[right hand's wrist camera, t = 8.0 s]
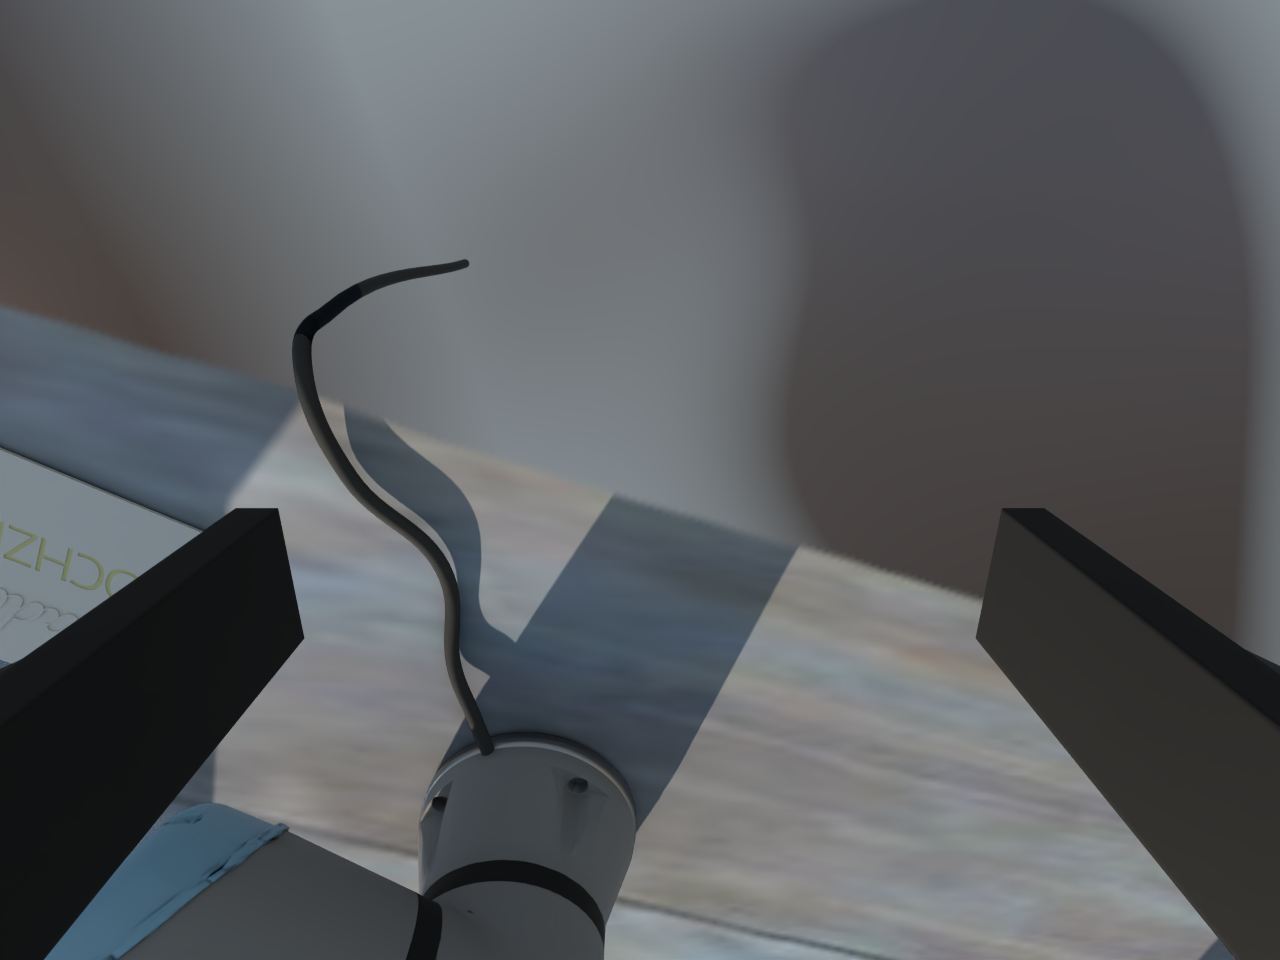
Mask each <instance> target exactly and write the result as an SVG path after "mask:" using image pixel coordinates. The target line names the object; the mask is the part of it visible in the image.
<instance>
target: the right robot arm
mask: <svg viewBox="0 0 1280 960" xmlns="http://www.w3.org/2000/svg"><path fill="white" fill-rule="evenodd" d="M468 266H469V261H468V260H466V259H463V260H459V261H456V262H451V263H445V264H438V265H431V266H422V267H415V268H408V269H403V270H397V271H393V272H388V273H384V274H380V275H377V276H374V277H371V278H368V279H366V280H364V281H361V282H359V283H357V284H354V285H352V286H351V287H349V288H347V289H346V290H344V291H342V292H341V293H339V294H337V295H336V296H335V297H333V298H332V299H331V300H330V301H328V302H327V303H326V304H324V305H323V306H322V307H320V308H319V309H318V310H316V311H314V312H313V313H311V314H310V315H308V316H307V317H306V318H305V319H304V320H303V321H302V322H301V323H300V325H299V326H298V328H297V330H296V332H295V334H294V338H293V346H292V358H293V368H294V376H295V382H296V387H297V391H298V395H299V399H300V402H301V405H302V408H303V411H304V414H305V417H306V419H307V422H308V424H309V426H310V428H311V430H312V433H313V435H314V437H315V439H316V440H317V442H318V444H319V446H320V448H321V449H322V451H323V453H324V455H325V456H326V458H327V459H328V461H329V463H330V464H331V466H332V467H333V469H334V470H335V472H336V473H337V475H338V476H339V478H340V479H341V481H342V482H343V483H344V485H345V486H346V487H347V489H348V490H349V491H350V493H351V494H352V495H353V496H354V497H355V498H356V499H357V500H358V501H359V502H360V503H361V504H362V505H363V506H364V507H365V508H366V509H368V510H369V511H370V512H371V513H373V514H374V515H375V516H376V517H378V518H379V519H380V520H382V521H383V522H384V523H386V524H387V525H389V526H390V527H391V528H393V529H394V530H395V531H397V532H398V533H400V534H401V535H402V536H404V537H405V538H406V539H407V540H409V541H410V542H411V543H412V544H413V545H414V546H416V547H417V548H418V549H419V550H420V551H421V552H422V553H423V554H424V556H425V557H426V558H427V559H428V561H429V562H430V563H431V565H432V567H433V568H434V570H435V572H436V574H437V576H438V578H439V580H440V583H441V586H442V589H443V594H444V599H445V629H444V649H445V659H446V666H447V670H448V675H449V678H450V681H451V684H452V687H453V689H454V692H455V694H456V696H457V698H458V701H459V703H460V705H461V707H462V709H463V712H464V714H465V716H466V719H467V721H468V723H469V726H470V728H471V731H472V733H473V735H474V738H475V740H476V742H475V743H473V744H471V745H469V746H467V747H465V748H463V749H462V750H460V751H459V752H457V753H456V754H454V755H453V756H452V757H451V758H449V759H448V760H447V761H446V762H445V763H444V764H443V765H442V767H441V768H440V769H439V770H438V772H437V773H436V775H435V776H434V778H433V780H432V782H431V784H430V786H429V789H428V792H427V794H426V797H425V800H424V802H423V805H422V810H421V815H420V820H419V826H418V857H419V894H418V893H416V892H414V891H412V890H410V889H407V888H405V887H403V886H401V885H399V884H397V883H395V882H393V881H391V880H389V879H387V878H384V877H382V876H380V875H378V874H376V873H374V872H372V871H370V870H368V869H366V868H364V867H361V866H359V865H357V864H355V863H353V862H351V861H349V860H347V859H345V858H343V857H341V856H339V855H336V854H334V853H332V852H330V851H328V850H326V849H324V848H322V847H320V846H318V845H316V844H313V843H311V842H309V841H307V840H305V839H303V838H301V837H299V836H297V835H295V834H293V833H290V832H288V830H289V828H290V827H288V826H287V825H285V824H283V823H279V824H277V825H273V824H270V823H268V822H265V821H263V820H260V819H258V818H255V817H253V816H251V815H248V814H246V813H243V812H241V811H238V810H236V809H234V808H231V807H229V806H226V805H222V804H217V803H204V804H199V805H196V806H193V807H190V808H188V809H185V810H183V811H181V812H179V813H178V814H176V815H175V816H173V817H172V818H170V819H169V820H167V821H166V822H165V823H164V824H162V825H161V826H160V827H159V828H158V829H156V830H155V831H154V832H153V833H152V834H151V835H150V836H149V837H147V838H146V839H145V840H144V841H143V842H142V843H141V844H140V845H139V846H138V847H137V848H136V849H135V850H134V851H133V852H132V850H133V849H134V848H135V847H136V845H137V844H138V843H139V842H140V841H141V839H142V838H143V837H144V836H145V834H146V833H147V832H148V831H149V829H150V828H151V827H152V826H153V824H154V823H155V822H156V821H157V820H158V818H159V817H160V816H161V815H162V813H163V812H164V811H165V810H166V808H167V807H168V806H169V805H170V804H171V802H172V801H173V800H174V799H175V797H176V796H177V795H178V794H179V792H180V791H181V790H182V789H183V787H184V786H185V785H186V784H187V783H188V781H189V780H190V779H191V778H192V776H193V775H194V774H195V773H196V771H197V770H198V769H199V768H200V766H201V765H202V764H203V763H204V762H205V760H206V759H207V758H208V757H209V755H210V754H211V753H212V752H213V750H214V749H215V748H216V747H217V745H218V744H219V743H220V742H221V741H222V739H223V738H224V737H225V736H226V734H227V733H228V732H229V731H230V729H231V728H232V727H233V726H234V724H235V723H236V722H237V721H238V720H239V718H240V717H241V716H242V715H243V713H244V712H245V711H246V710H247V708H248V707H249V706H250V705H251V703H252V702H253V701H254V700H255V699H256V697H257V696H258V695H259V694H260V692H261V691H262V690H263V689H264V687H265V686H266V685H267V684H268V682H269V681H270V680H271V679H272V678H273V676H274V675H275V674H276V673H277V671H278V670H279V669H280V668H281V666H282V665H283V664H284V663H285V661H286V660H287V659H288V658H289V657H290V655H291V654H292V653H293V652H294V650H295V649H296V648H297V647H298V645H299V644H300V643H301V642H302V640H303V639H304V634H303V629H302V624H301V619H300V615H299V610H298V605H297V600H296V595H295V590H294V585H293V580H292V575H291V570H290V565H289V560H288V555H287V550H286V545H285V540H284V535H283V531H282V526H281V521H280V516H279V511H278V508H235V509H234V510H233V511H231V512H230V513H228V514H227V515H226V516H224V517H223V518H221V519H220V520H218V521H217V522H216V523H214V524H213V525H211V526H210V527H208V528H207V529H206V530H204V531H203V532H201V533H200V534H199V535H197V536H196V537H194V538H193V539H191V540H190V541H189V542H187V543H186V544H184V545H183V546H181V547H180V548H179V549H177V550H176V551H174V552H173V553H172V554H170V555H169V556H167V557H166V558H164V559H163V560H162V561H160V562H159V563H157V564H156V565H154V566H153V567H152V568H150V569H149V570H147V571H146V572H145V573H143V574H142V575H140V576H139V577H137V578H136V579H135V580H133V581H132V582H130V583H129V584H128V585H126V586H125V587H123V588H122V589H120V590H119V591H118V592H116V593H115V594H113V595H112V596H110V597H109V598H108V599H106V600H105V601H103V602H102V603H101V604H99V605H98V606H96V607H95V608H93V609H92V610H91V611H89V612H88V613H86V614H85V615H83V616H82V617H81V618H79V619H78V620H76V621H75V622H74V623H72V624H71V625H69V626H68V627H66V628H65V629H64V630H62V631H61V632H59V633H58V634H56V635H55V636H54V637H52V638H51V639H49V640H48V641H47V642H45V643H44V644H42V645H41V646H39V647H38V648H37V649H35V650H34V651H32V652H31V653H30V654H28V655H27V656H25V657H24V658H22V659H20V660H18V661H16V662H14V663H12V664H10V665H8V666H6V667H4V668H2V669H0V960H604V941H605V926H606V923H607V921H608V918H609V916H610V913H611V910H612V908H613V905H614V903H615V900H616V898H617V895H618V893H619V890H620V888H621V885H622V883H623V880H624V877H625V875H626V872H627V870H628V867H629V865H630V862H631V859H632V854H633V849H634V843H635V835H636V812H635V805H634V801H633V798H632V795H631V793H630V790H629V788H628V786H627V785H626V783H625V781H624V780H623V778H622V777H621V776H620V774H619V773H618V772H617V771H616V770H615V769H614V767H613V766H612V765H610V764H609V763H608V762H607V761H606V760H605V759H603V758H602V757H601V756H599V755H598V754H596V753H595V752H593V751H592V750H590V749H588V748H586V747H584V746H582V745H580V744H578V743H575V742H573V741H570V740H567V739H564V738H560V737H556V736H551V735H546V734H538V733H512V734H504V735H498V736H494V737H490V735H489V733H488V730H487V728H486V726H485V723H484V721H483V718H482V716H481V713H480V711H479V708H478V706H477V704H476V702H475V699H474V697H473V695H472V693H471V691H470V688H469V686H468V684H467V681H466V679H465V676H464V673H463V669H462V665H461V660H460V654H459V628H460V598H459V590H458V585H457V582H456V579H455V575H454V573H453V571H452V568H451V566H450V564H449V562H448V561H447V559H446V557H445V555H444V554H443V553H442V551H441V550H440V549H439V547H438V546H437V545H436V544H435V543H434V541H433V540H432V539H431V538H430V537H429V536H428V535H427V534H425V533H424V532H423V531H422V530H421V529H420V528H418V527H417V526H416V525H415V524H413V523H412V522H411V521H409V520H408V519H407V518H405V517H404V516H403V515H401V514H400V513H398V512H397V511H396V510H394V509H393V508H392V507H390V506H389V505H388V504H386V503H385V502H384V501H383V500H382V499H380V498H379V497H378V496H377V495H376V494H375V493H374V492H373V491H372V490H371V489H370V488H369V487H368V486H367V485H366V484H365V483H364V482H363V480H362V479H361V478H360V476H359V475H358V474H357V472H356V471H355V469H354V468H353V466H352V465H351V463H350V462H349V460H348V459H347V457H346V455H345V454H344V452H343V450H342V449H341V447H340V445H339V444H338V442H337V440H336V438H335V436H334V435H333V433H332V431H331V429H330V427H329V424H328V422H327V420H326V418H325V415H324V413H323V410H322V407H321V404H320V401H319V398H318V394H317V390H316V386H315V381H314V375H313V368H312V357H311V348H312V341H313V338H314V335H315V333H316V332H317V331H318V330H320V329H321V328H322V327H324V326H325V325H326V324H328V323H329V322H330V321H332V320H333V319H334V318H335V317H336V316H338V315H339V314H340V313H341V312H342V311H343V310H345V309H346V308H347V307H348V306H350V305H351V304H353V303H354V302H356V301H357V300H359V299H360V298H362V297H364V296H366V295H368V294H370V293H372V292H374V291H376V290H378V289H381V288H383V287H386V286H389V285H392V284H396V283H399V282H403V281H407V280H411V279H416V278H422V277H428V276H434V275H439V274H444V273H449V272H454V271H457V270H461V269H464V268H467V267H468ZM976 639H977V640H978V642H979V643H980V644H981V645H982V647H983V648H984V649H985V650H986V652H987V653H988V654H989V655H990V657H991V658H992V659H993V660H994V661H995V663H996V664H997V665H998V666H999V668H1000V669H1001V670H1002V671H1003V673H1004V674H1005V675H1006V676H1007V678H1008V679H1009V680H1010V681H1011V682H1012V684H1013V685H1014V686H1015V687H1016V689H1017V690H1018V691H1019V692H1020V694H1021V695H1022V696H1023V697H1024V699H1025V700H1026V701H1027V702H1028V703H1029V705H1030V706H1031V707H1032V708H1033V710H1034V711H1035V712H1036V713H1037V715H1038V716H1039V717H1040V718H1041V720H1042V721H1043V722H1044V723H1045V724H1046V726H1047V727H1048V728H1049V729H1050V731H1051V732H1052V733H1053V734H1054V736H1055V737H1056V738H1057V739H1058V741H1059V742H1060V743H1061V744H1062V745H1063V747H1064V748H1065V749H1066V750H1067V752H1068V753H1069V754H1070V755H1071V757H1072V758H1073V759H1074V760H1075V762H1076V763H1077V764H1078V765H1079V766H1080V768H1081V769H1082V770H1083V771H1084V773H1085V774H1086V775H1087V776H1088V778H1089V779H1090V780H1091V781H1092V783H1093V784H1094V785H1095V786H1096V787H1097V789H1098V790H1099V791H1100V792H1101V794H1102V795H1103V796H1104V797H1105V799H1106V800H1107V801H1108V802H1109V804H1110V805H1111V806H1112V807H1113V808H1114V810H1115V811H1116V812H1117V813H1118V815H1119V816H1120V817H1121V818H1122V820H1123V821H1124V822H1125V823H1126V825H1127V826H1128V827H1129V828H1130V829H1131V831H1132V832H1133V833H1134V834H1135V836H1136V837H1137V838H1138V839H1139V841H1140V842H1141V843H1142V844H1143V845H1144V847H1145V848H1146V849H1147V850H1148V852H1149V853H1150V854H1151V855H1152V857H1153V858H1154V859H1155V860H1156V862H1157V863H1158V864H1159V865H1160V866H1161V868H1162V869H1163V870H1164V871H1165V873H1166V874H1167V875H1168V876H1169V878H1170V879H1171V880H1172V881H1173V883H1174V884H1175V885H1176V886H1177V887H1178V889H1179V890H1180V891H1181V892H1182V894H1183V895H1184V896H1185V897H1186V899H1187V900H1188V901H1189V902H1190V904H1191V905H1192V906H1193V907H1194V908H1195V910H1196V911H1197V912H1198V913H1199V915H1200V916H1201V917H1202V918H1203V920H1204V921H1205V922H1206V923H1207V925H1208V926H1209V927H1210V928H1211V929H1212V931H1213V932H1214V933H1215V934H1216V936H1217V937H1218V938H1219V939H1220V941H1221V942H1222V943H1223V944H1224V946H1225V947H1226V948H1227V949H1228V950H1229V952H1230V953H1231V954H1232V955H1233V957H1234V958H1235V959H1236V960H1280V666H1279V665H1277V664H1274V663H1272V662H1270V661H1268V660H1266V659H1264V658H1262V657H1260V656H1258V655H1255V654H1253V653H1251V652H1249V651H1247V650H1245V649H1243V648H1242V647H1241V646H1239V645H1238V644H1236V643H1235V642H1233V641H1232V640H1231V639H1229V638H1228V637H1226V636H1225V635H1224V634H1222V633H1221V632H1219V631H1218V630H1216V629H1215V628H1214V627H1212V626H1211V625H1209V624H1208V623H1206V622H1205V621H1204V620H1202V619H1201V618H1199V617H1198V616H1197V615H1195V614H1194V613H1192V612H1191V611H1189V610H1188V609H1187V608H1185V607H1184V606H1182V605H1181V604H1179V603H1178V602H1177V601H1175V600H1174V599H1172V598H1171V597H1169V596H1168V595H1167V594H1165V593H1164V592H1162V591H1161V590H1160V589H1158V588H1157V587H1155V586H1154V585H1152V584H1151V583H1150V582H1148V581H1147V580H1145V579H1144V578H1142V577H1141V576H1140V575H1138V574H1137V573H1135V572H1134V571H1133V570H1131V569H1130V568H1128V567H1127V566H1125V565H1124V564H1123V563H1121V562H1120V561H1118V560H1117V559H1116V558H1114V557H1113V556H1111V555H1110V554H1108V553H1107V552H1106V551H1104V550H1103V549H1101V548H1100V547H1098V546H1097V545H1096V544H1094V543H1093V542H1091V541H1090V540H1089V539H1087V538H1086V537H1084V536H1083V535H1081V534H1080V533H1079V532H1077V531H1076V530H1074V529H1073V528H1072V527H1070V526H1069V525H1067V524H1066V523H1064V522H1063V521H1062V520H1060V519H1059V518H1057V517H1056V516H1054V515H1053V514H1052V513H1050V512H1049V511H1047V510H1046V509H1045V508H1002V511H1001V516H1000V521H999V526H998V531H997V535H996V541H995V546H994V550H993V555H992V560H991V565H990V570H989V575H988V580H987V585H986V590H985V595H984V600H983V605H982V610H981V615H980V619H979V624H978V629H977V634H976ZM131 852H132V853H131ZM130 853H131V854H130Z"/></svg>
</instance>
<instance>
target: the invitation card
mask: <svg viewBox="0 0 1280 960" xmlns="http://www.w3.org/2000/svg"><path fill="white" fill-rule="evenodd" d="M201 532H203V531H201V530H199V529H197V528H194V527H192V526H189V525H187V524H184V523H182V522H180V521H177V520H175V519H172V518H170V517H167V516H165V515H163V514H160V513H158V512H155V511H153V510H151V509H148V508H146V507H143V506H141V505H138V504H136V503H134V502H131V501H129V500H126V499H124V498H121V497H119V496H117V495H114V494H112V493H109V492H107V491H105V490H102V489H100V488H97V487H95V486H92V485H90V484H88V483H85V482H83V481H80V480H78V479H75V478H73V477H71V476H68V475H66V474H63V473H61V472H59V471H56V470H54V469H51V468H49V467H46V466H44V465H42V464H39V463H37V462H34V461H32V460H29V459H27V458H25V457H22V456H20V455H17V454H15V453H12V452H10V451H8V450H5V449H3V448H0V660H3V661H5V662H8V663H11V664H12V663H14V662H16V661H18V660H20V659H22V658H24V657H25V656H27V655H28V654H30V653H31V652H32V651H34V650H35V649H37V648H38V647H39V646H41V645H42V644H44V643H45V642H47V641H48V640H49V639H51V638H52V637H54V636H55V635H56V634H58V633H59V632H61V631H62V630H64V629H65V628H66V627H68V626H69V625H71V624H72V623H74V622H75V621H76V620H78V619H79V618H81V617H82V616H83V615H85V614H86V613H88V612H89V611H91V610H92V609H93V608H95V607H96V606H98V605H99V604H101V603H102V602H103V601H105V600H106V599H108V598H109V597H110V596H112V595H113V594H115V593H116V592H118V591H119V590H120V589H122V588H123V587H125V586H126V585H128V584H129V583H130V582H132V581H133V580H135V579H136V578H137V577H139V576H140V575H142V574H143V573H145V572H146V571H147V570H149V569H150V568H152V567H153V566H154V565H156V564H157V563H159V562H160V561H162V560H163V559H164V558H166V557H167V556H169V555H170V554H172V553H173V552H174V551H176V550H177V549H179V548H180V547H181V546H183V545H184V544H186V543H187V542H189V541H190V540H191V539H193V538H194V537H196V536H197V535H199V534H200V533H201Z"/></svg>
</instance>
